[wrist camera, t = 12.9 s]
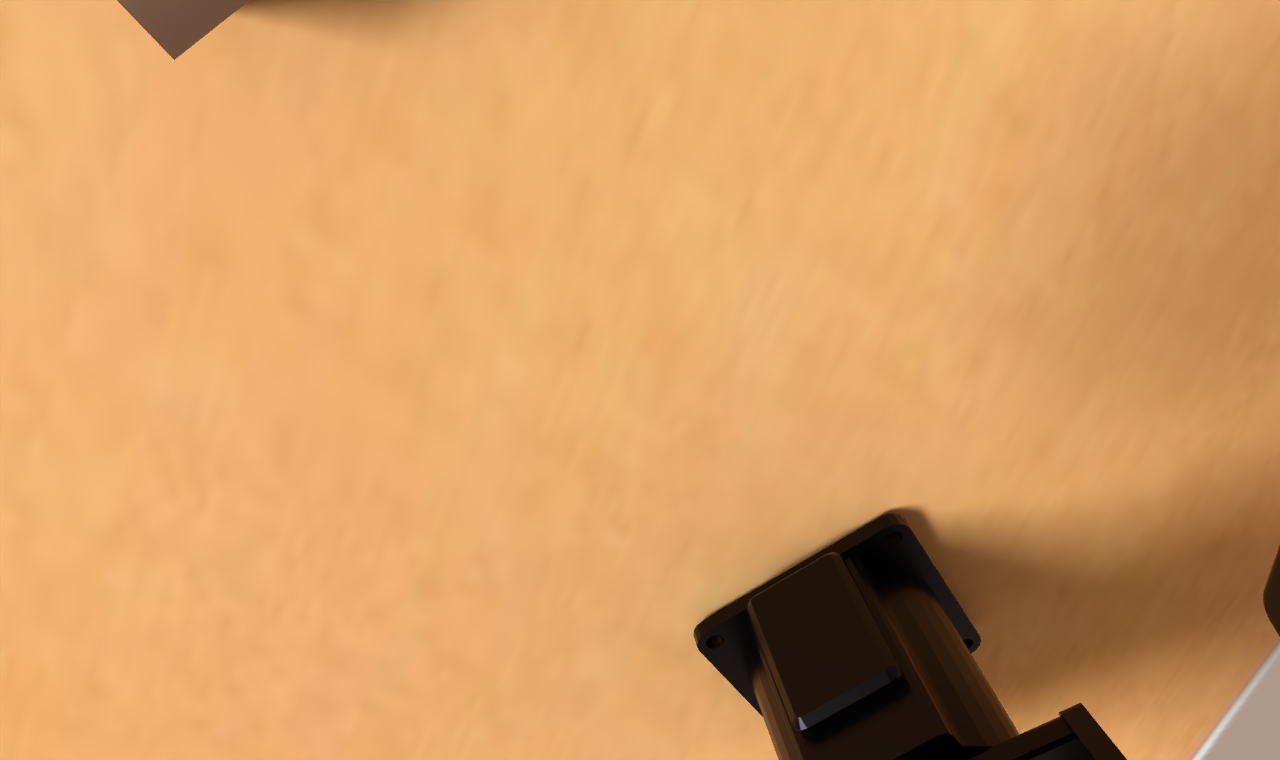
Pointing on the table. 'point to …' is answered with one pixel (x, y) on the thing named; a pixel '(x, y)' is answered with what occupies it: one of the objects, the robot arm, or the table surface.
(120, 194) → the table surface
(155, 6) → the walnut block
